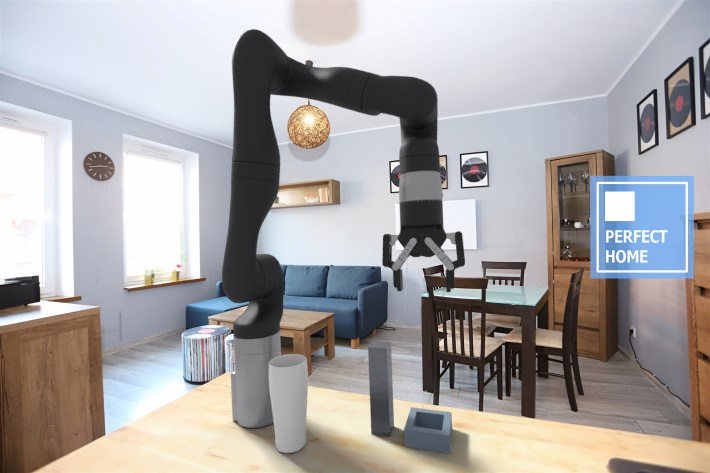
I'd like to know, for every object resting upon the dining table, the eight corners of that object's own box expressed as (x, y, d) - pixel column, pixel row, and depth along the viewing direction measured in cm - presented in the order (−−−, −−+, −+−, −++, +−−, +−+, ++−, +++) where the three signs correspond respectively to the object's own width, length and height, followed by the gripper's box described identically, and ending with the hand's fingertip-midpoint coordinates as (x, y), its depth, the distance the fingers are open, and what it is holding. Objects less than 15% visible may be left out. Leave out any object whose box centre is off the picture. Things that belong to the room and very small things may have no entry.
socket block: (404, 446, 58) (404, 429, 58) (411, 422, 65) (410, 407, 65) (450, 453, 56) (449, 435, 56) (452, 428, 63) (451, 412, 63)
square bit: (371, 434, 62) (368, 347, 62) (376, 423, 65) (373, 341, 65) (390, 437, 61) (386, 348, 61) (394, 426, 64) (390, 342, 64)
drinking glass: (302, 459, 55) (299, 368, 55) (264, 455, 57) (260, 367, 57) (315, 435, 62) (312, 354, 62) (281, 432, 63) (277, 352, 63)
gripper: (376, 200, 59) (379, 294, 59) (462, 195, 54) (466, 296, 54) (386, 204, 66) (389, 287, 66) (462, 199, 61) (466, 288, 61)
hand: (423, 291), depth 60 cm, fingers open, 8 cm apart
